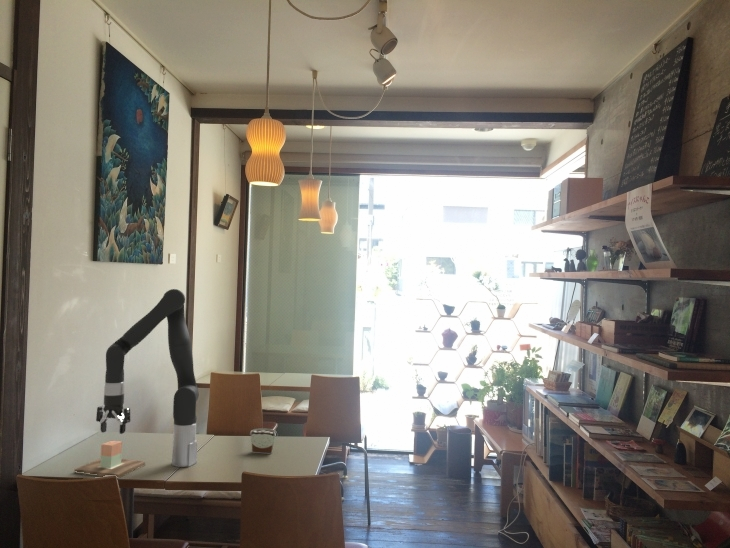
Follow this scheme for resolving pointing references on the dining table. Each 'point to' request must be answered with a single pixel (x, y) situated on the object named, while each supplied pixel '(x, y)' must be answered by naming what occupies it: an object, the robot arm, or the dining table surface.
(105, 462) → the sage green brick
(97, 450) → the dining table surface
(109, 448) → the terracotta brick
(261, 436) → the food container
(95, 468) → the base board
